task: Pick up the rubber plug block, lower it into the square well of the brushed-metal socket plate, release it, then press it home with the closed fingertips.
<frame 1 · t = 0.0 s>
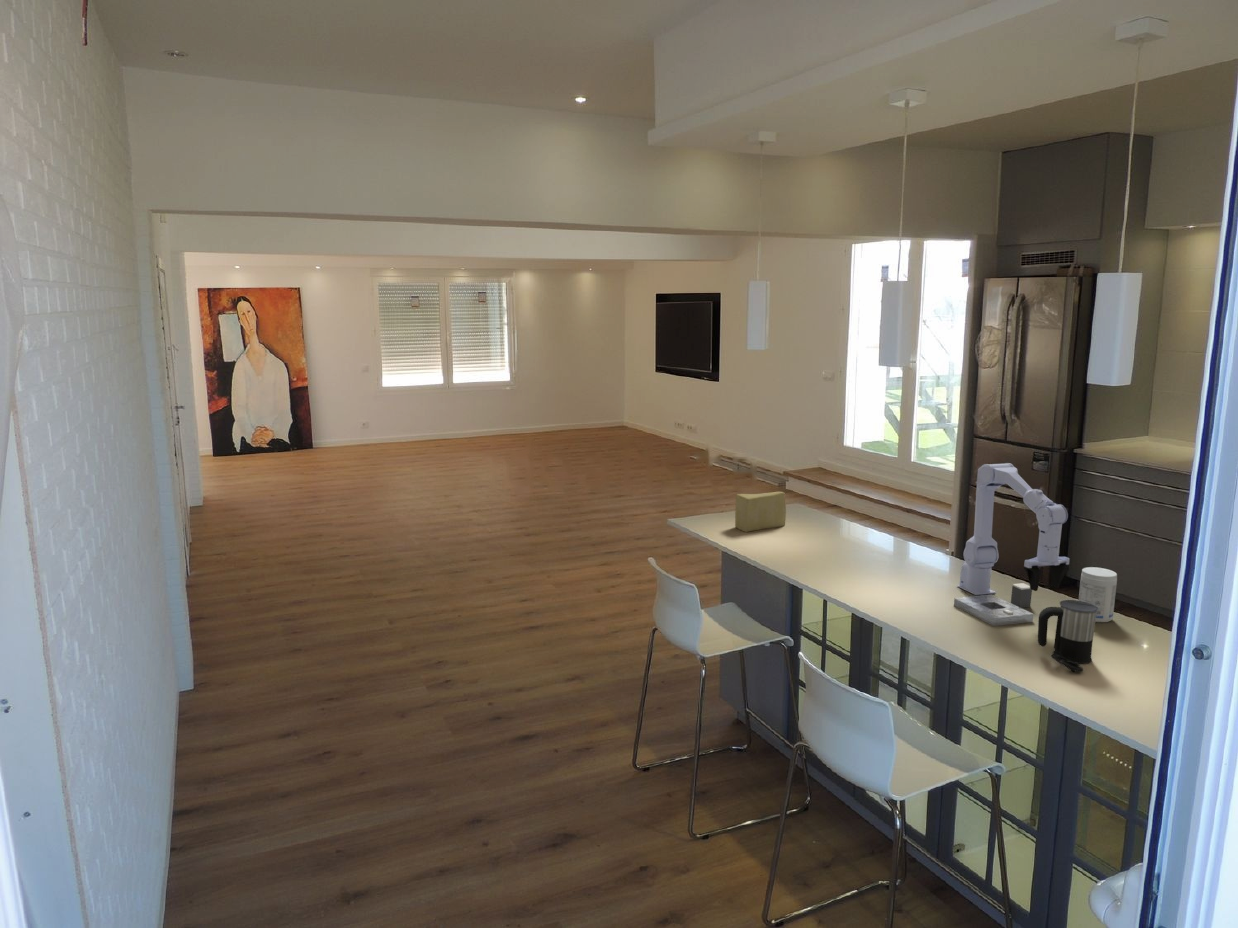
hand: (1044, 588, 251), 10 cm above the table, fingers open, 7 cm apart
supplement tub: (1094, 618, 256), on the table
milk frother: (1070, 663, 223), on the table
plug: (1020, 605, 266), on the table
socket plate: (992, 613, 258), on the table
cheese: (762, 528, 358), on the table
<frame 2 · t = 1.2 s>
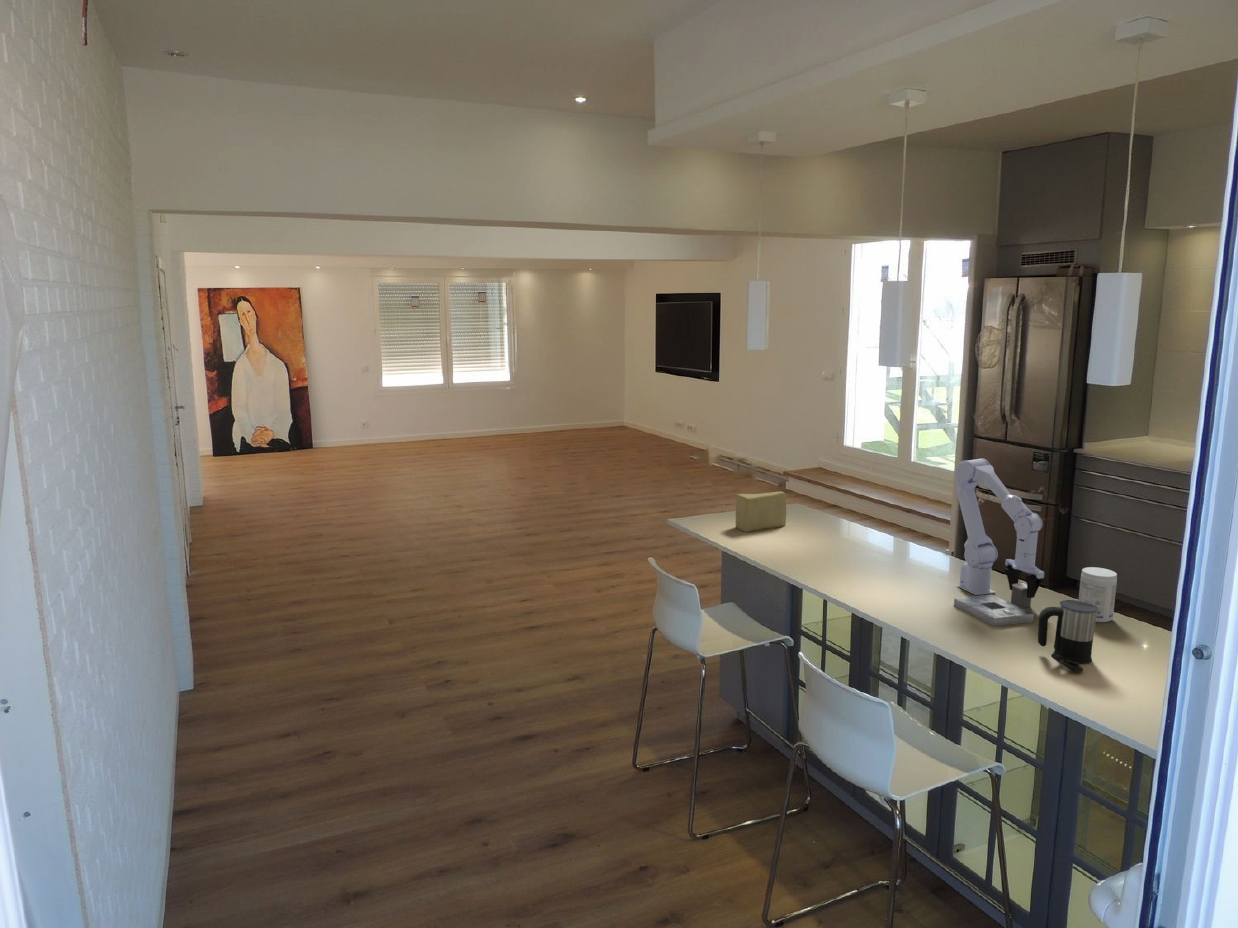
hand: (1021, 593, 265), 4 cm above the table, fingers open, 7 cm apart
nothing on the table moved.
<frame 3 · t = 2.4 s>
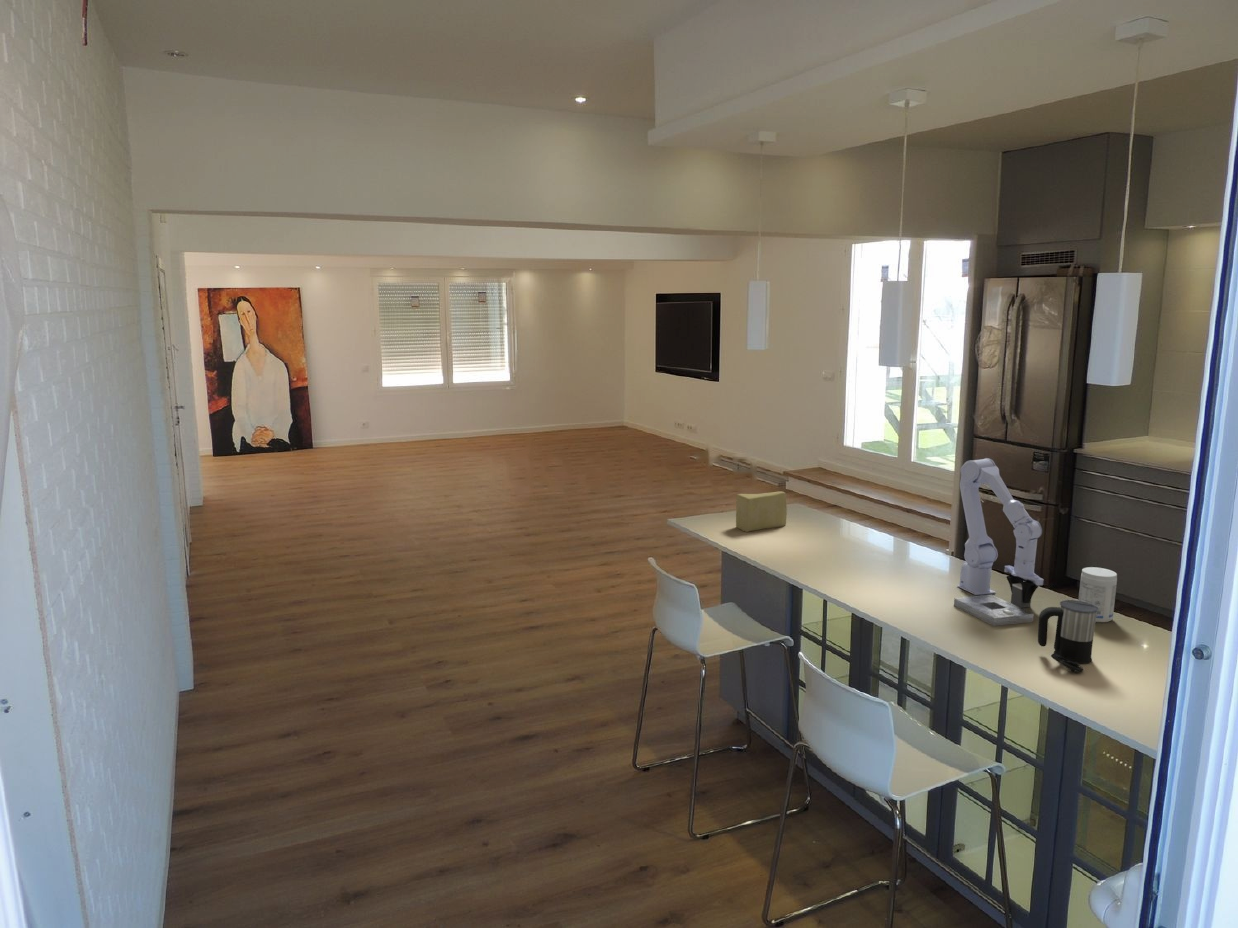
hand: (1020, 600, 266), 2 cm above the table, fingers closed on plug, 4 cm apart
plug: (1020, 605, 266), on the table, touching gripper
everything else where it was.
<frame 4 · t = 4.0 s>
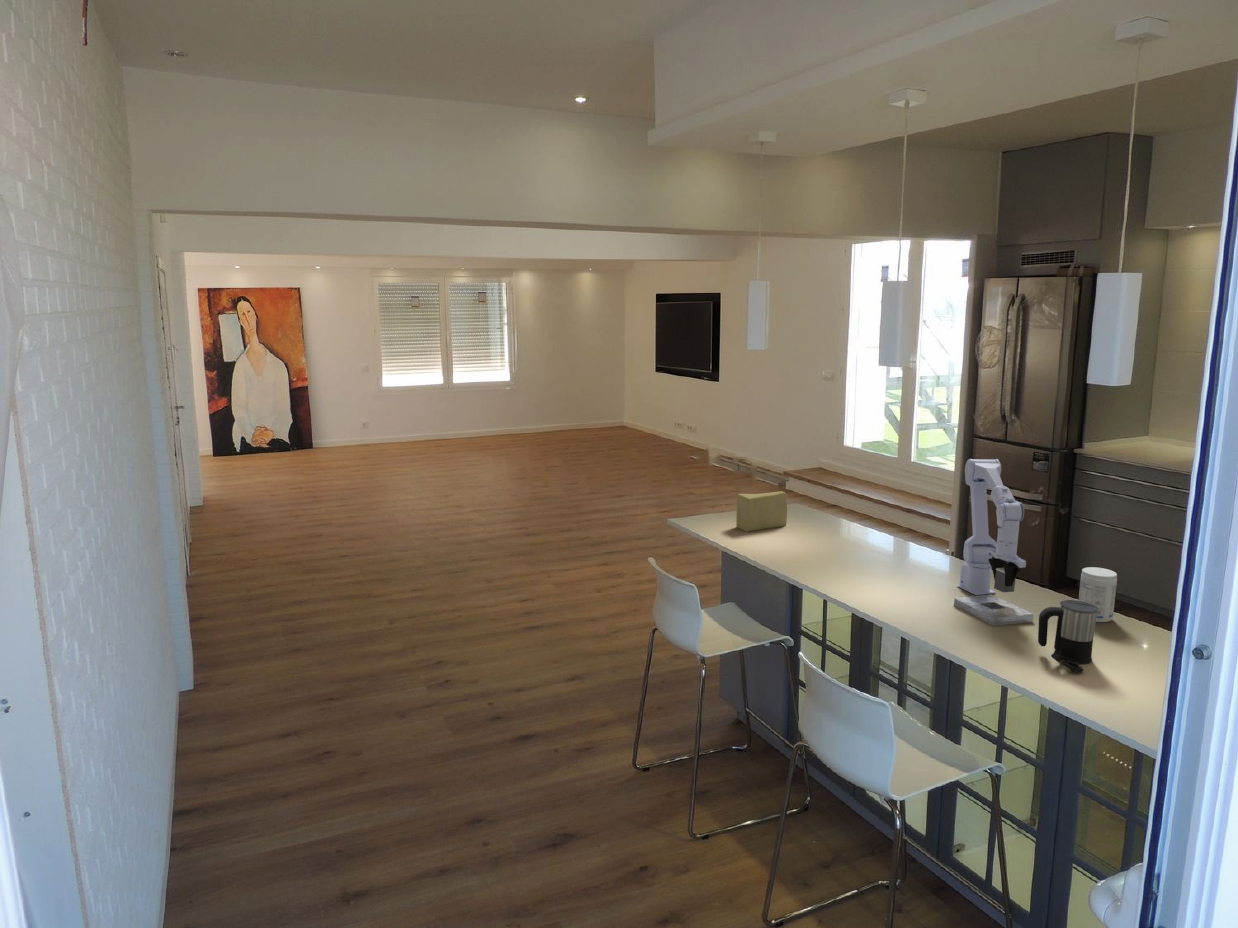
hand: (1003, 583, 259), 9 cm above the table, fingers closed on plug, 4 cm apart
plug: (1003, 589, 259), point 7 cm above the table, touching gripper
everything else where it was.
when the fingers open (3 cm above the table, at t = 5.6 s): plug stays where it is, resting on socket plate.
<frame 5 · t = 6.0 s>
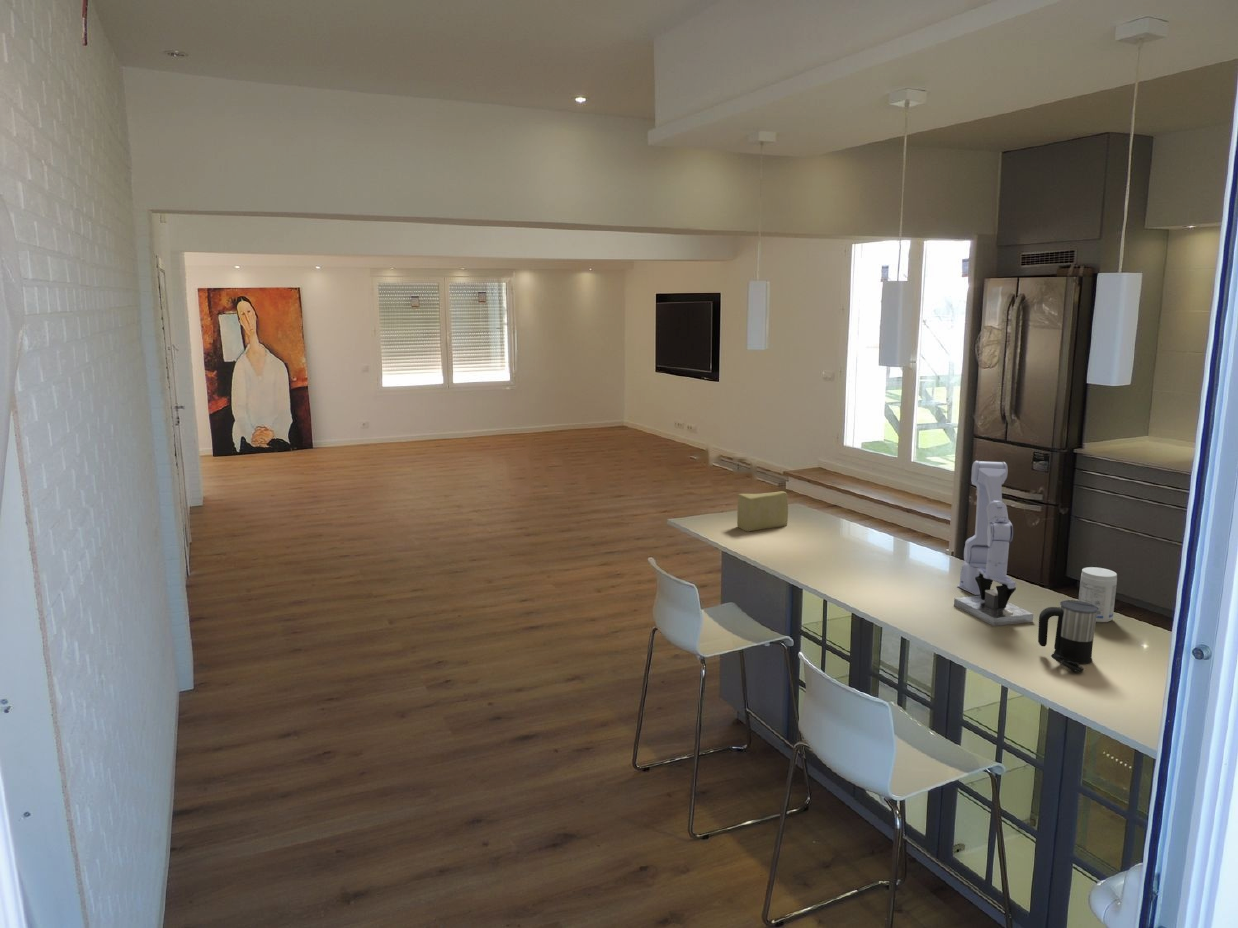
hand: (993, 603, 258), 3 cm above the table, fingers open, 7 cm apart
plug: (993, 611, 258), point 1 cm above the table, touching socket plate
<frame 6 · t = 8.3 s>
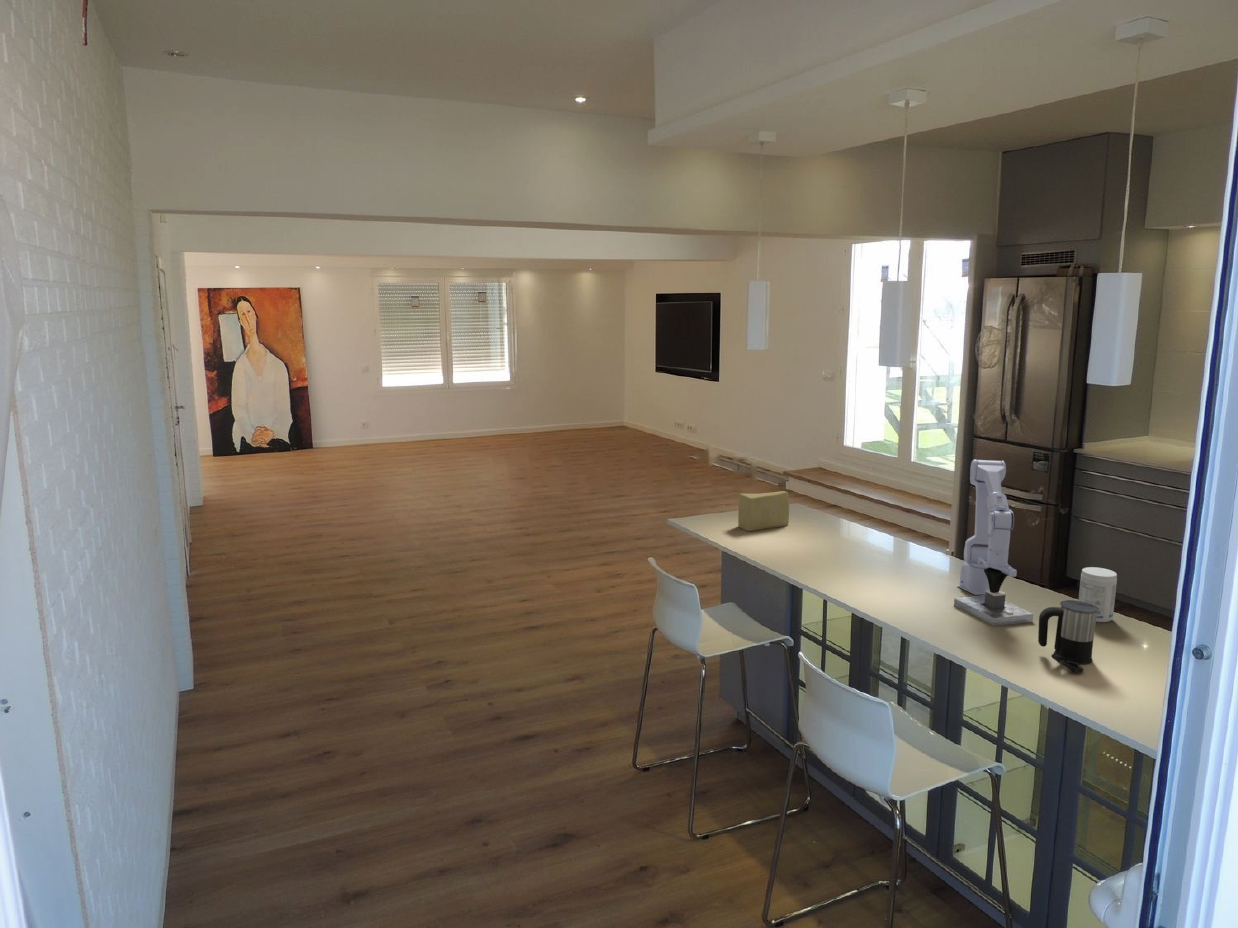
hand: (994, 592, 257), 7 cm above the table, fingers closed, pressing on plug
plug: (993, 611, 258), point 1 cm above the table, touching gripper, socket plate
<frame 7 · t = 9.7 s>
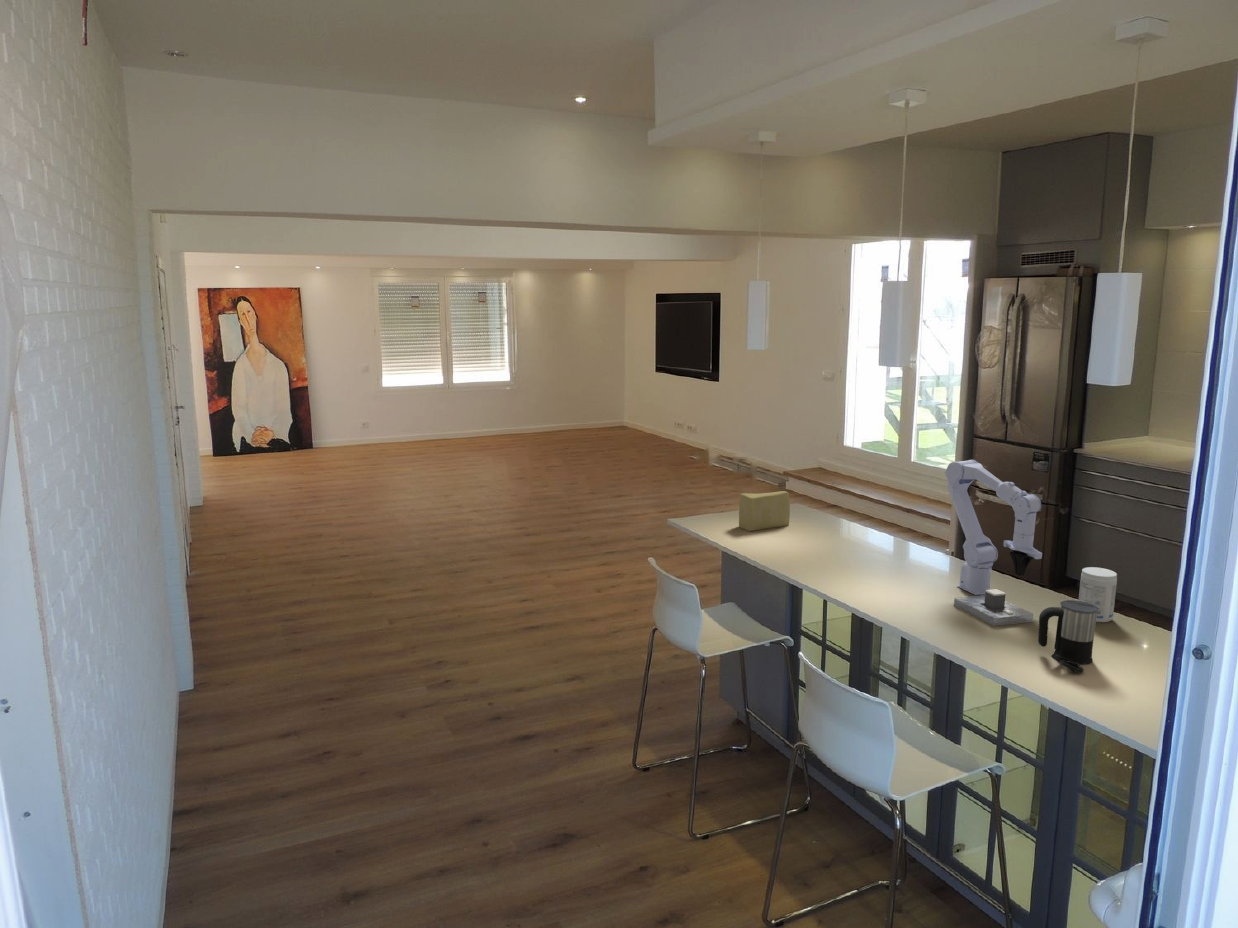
hand: (1019, 574, 265), 10 cm above the table, fingers closed
plug: (993, 611, 258), point 1 cm above the table, touching socket plate
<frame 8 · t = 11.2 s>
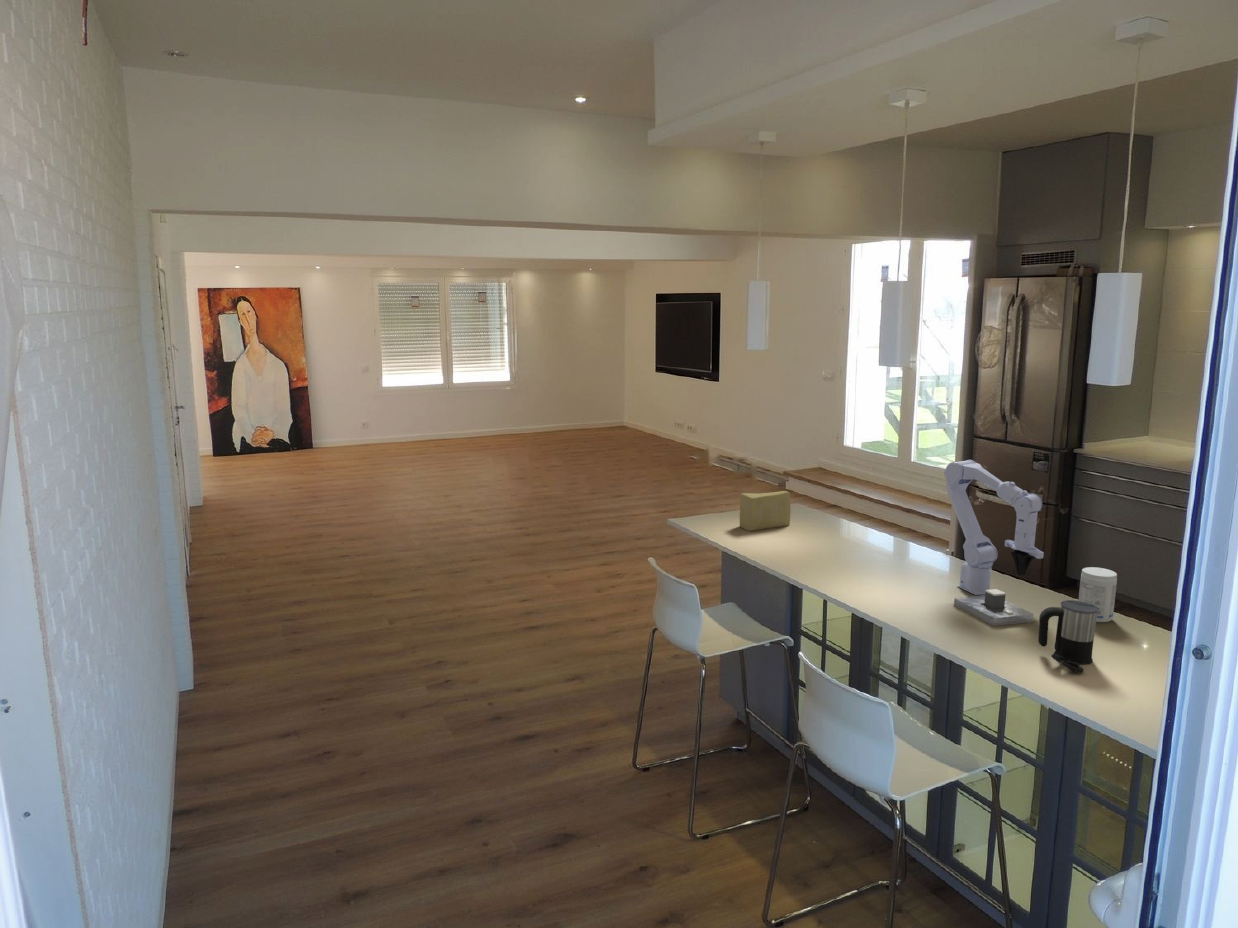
hand: (1021, 574, 265), 10 cm above the table, fingers closed
at the end: plug 0.5 cm off-centre on the socket plate, point 0.5 cm above the socket plate's base; plug tilted 0°; the gripper is holding nothing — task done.
